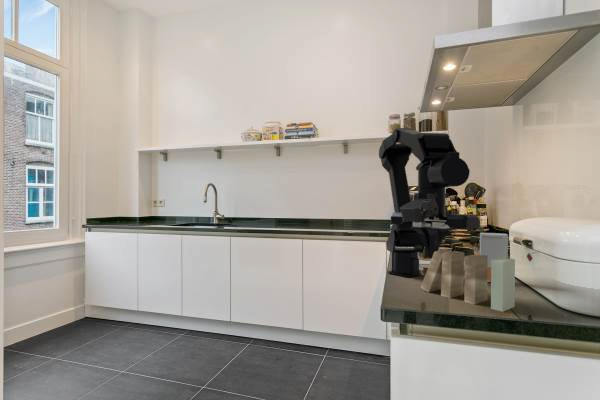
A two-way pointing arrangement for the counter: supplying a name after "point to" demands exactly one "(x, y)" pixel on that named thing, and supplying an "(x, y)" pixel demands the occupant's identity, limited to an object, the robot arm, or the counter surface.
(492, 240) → the skincare box
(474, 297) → the maple tile
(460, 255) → the maple tile
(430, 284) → the maple tile
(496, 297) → the sage tile
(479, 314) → the counter surface
